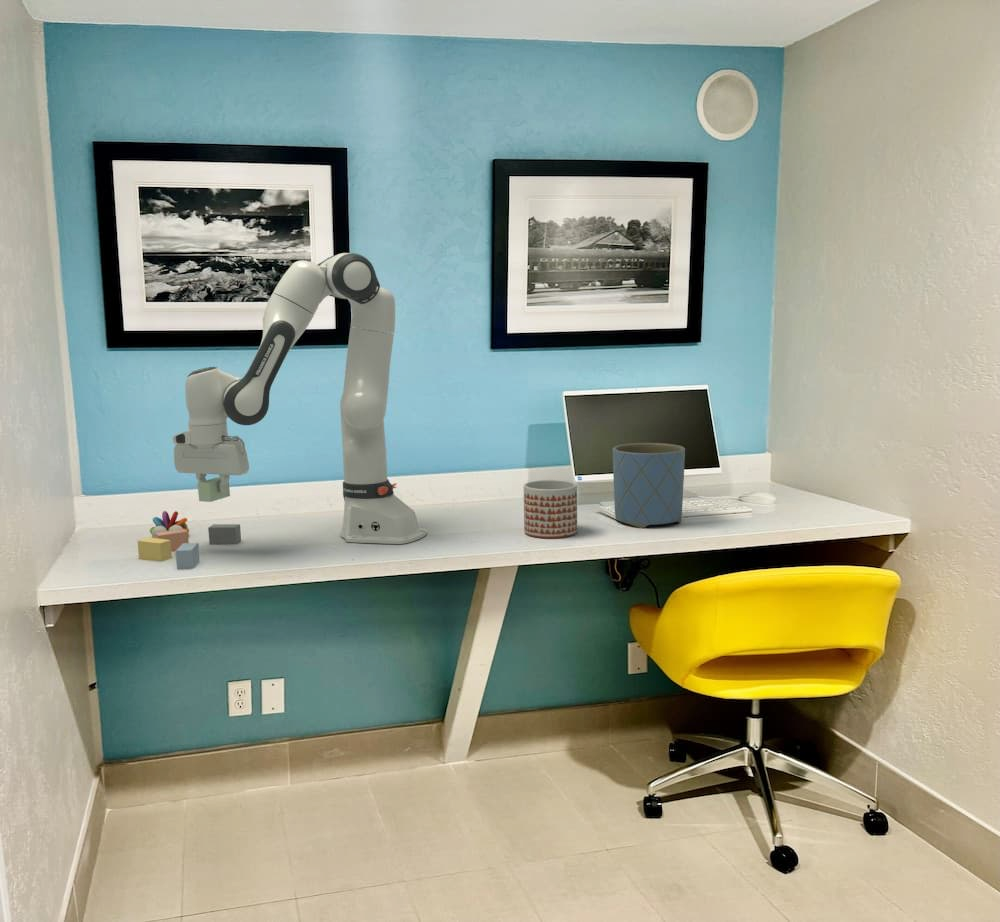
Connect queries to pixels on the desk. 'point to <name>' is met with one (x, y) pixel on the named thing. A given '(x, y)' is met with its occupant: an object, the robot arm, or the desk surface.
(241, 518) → the desk surface
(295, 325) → the robot arm
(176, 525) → the multicolored fanned-prong toy
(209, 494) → the sage brick
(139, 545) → the ochre brick
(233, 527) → the charcoal brick
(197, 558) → the slate brick
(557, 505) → the vase
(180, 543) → the terracotta brick
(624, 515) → the planter
